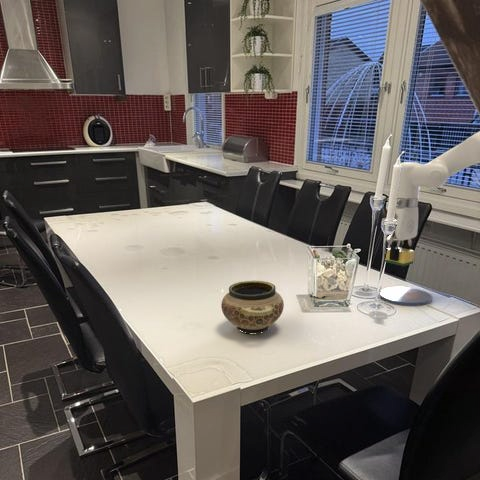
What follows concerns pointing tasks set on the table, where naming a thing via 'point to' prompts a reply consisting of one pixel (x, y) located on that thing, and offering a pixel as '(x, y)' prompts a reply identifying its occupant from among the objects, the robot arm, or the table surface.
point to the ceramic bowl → (252, 305)
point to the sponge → (402, 257)
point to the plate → (405, 296)
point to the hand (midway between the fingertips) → (399, 258)
